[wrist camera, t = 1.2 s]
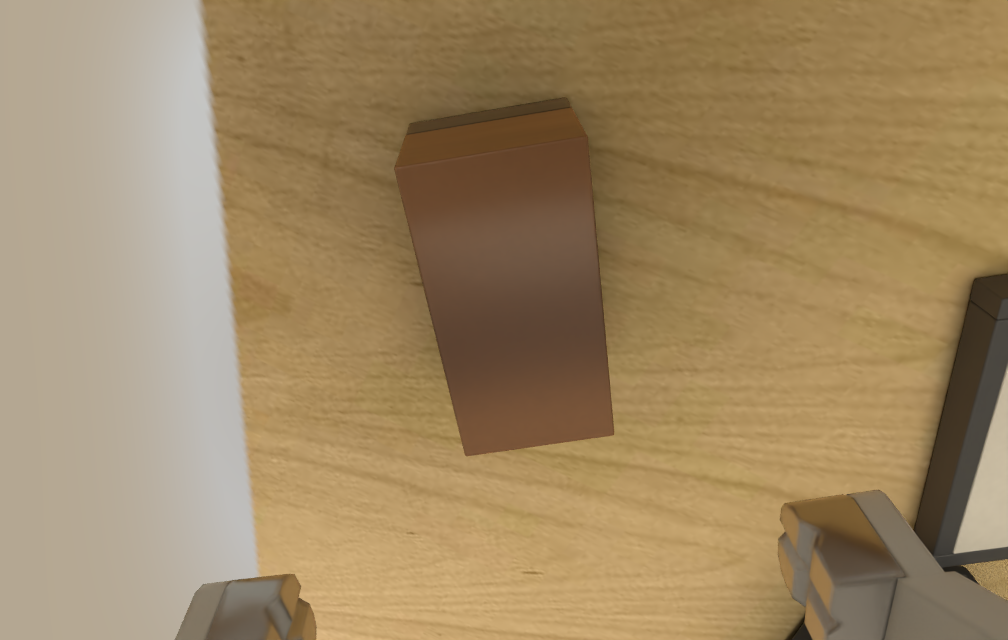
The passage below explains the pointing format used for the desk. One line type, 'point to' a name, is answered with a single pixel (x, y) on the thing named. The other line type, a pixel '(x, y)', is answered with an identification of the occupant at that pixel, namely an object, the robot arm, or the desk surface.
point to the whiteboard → (972, 441)
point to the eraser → (511, 272)
